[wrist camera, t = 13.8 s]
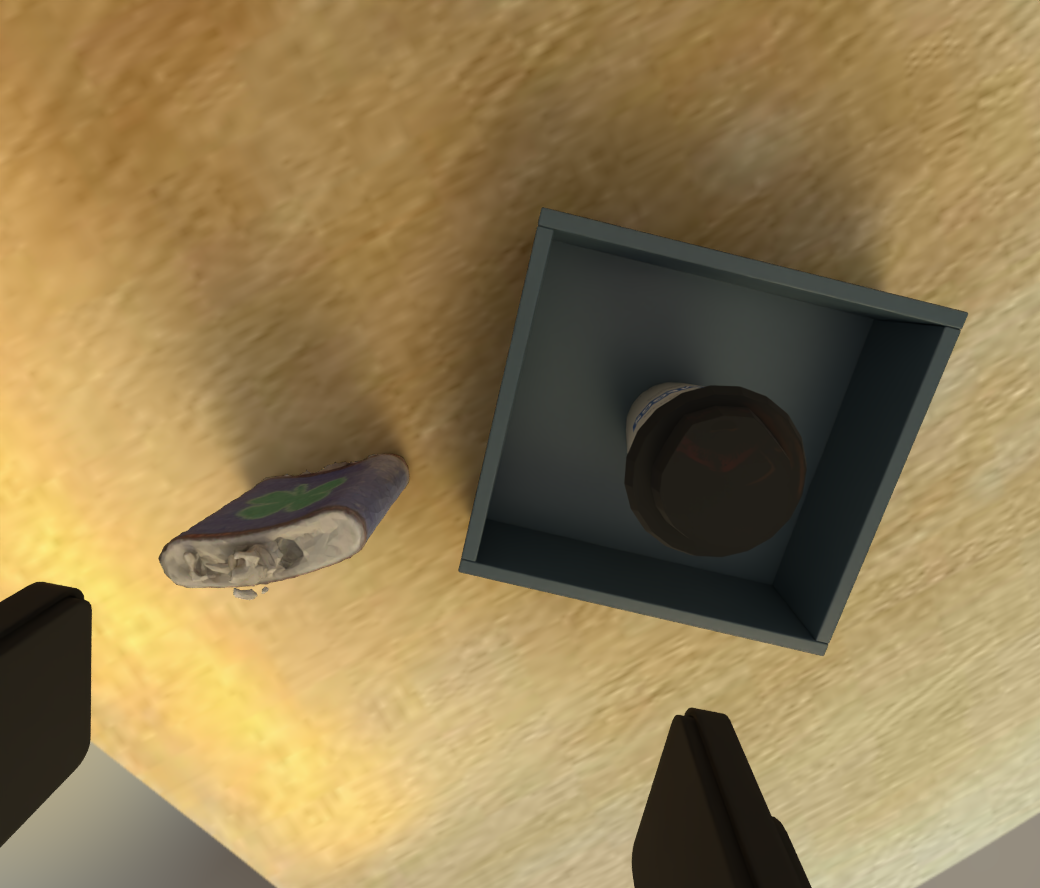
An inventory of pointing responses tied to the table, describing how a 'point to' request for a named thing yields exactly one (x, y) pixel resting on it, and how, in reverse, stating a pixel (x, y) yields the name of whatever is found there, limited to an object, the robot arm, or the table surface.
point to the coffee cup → (712, 467)
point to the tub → (704, 361)
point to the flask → (287, 526)
